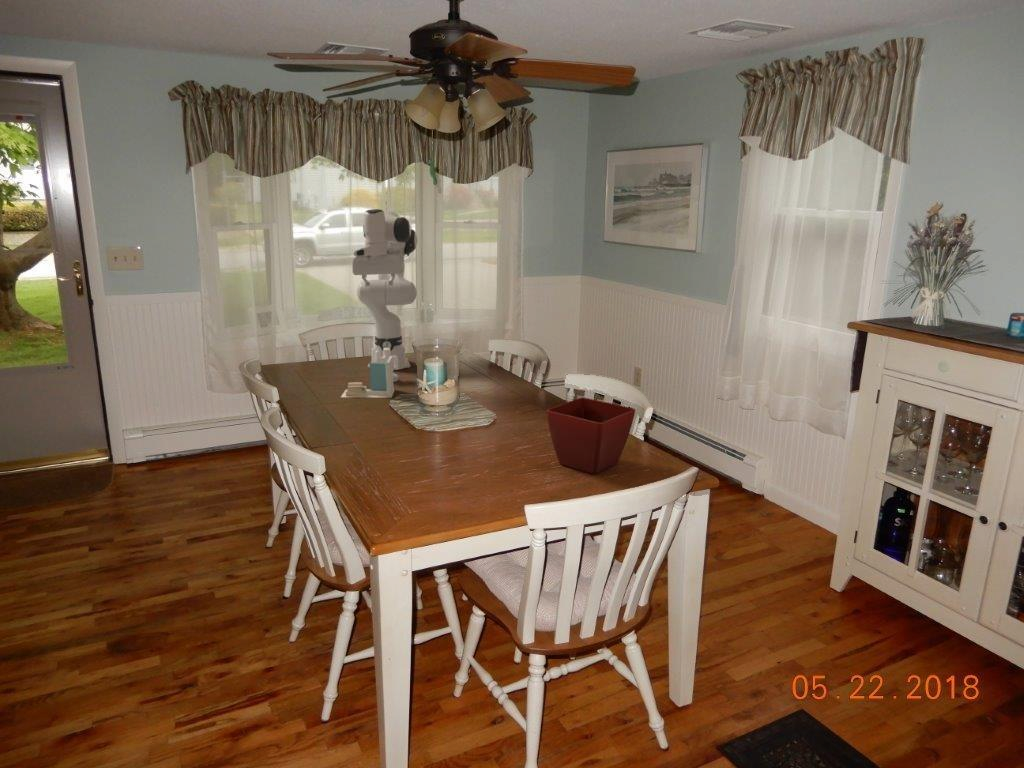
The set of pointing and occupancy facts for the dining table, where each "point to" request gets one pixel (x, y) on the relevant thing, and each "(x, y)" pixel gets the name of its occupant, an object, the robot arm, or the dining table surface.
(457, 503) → the dining table surface
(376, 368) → the tall board
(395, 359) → the figurine
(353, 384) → the offcut top
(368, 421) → the dining table surface
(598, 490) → the dining table surface
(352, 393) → the plate
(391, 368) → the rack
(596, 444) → the plant pot
